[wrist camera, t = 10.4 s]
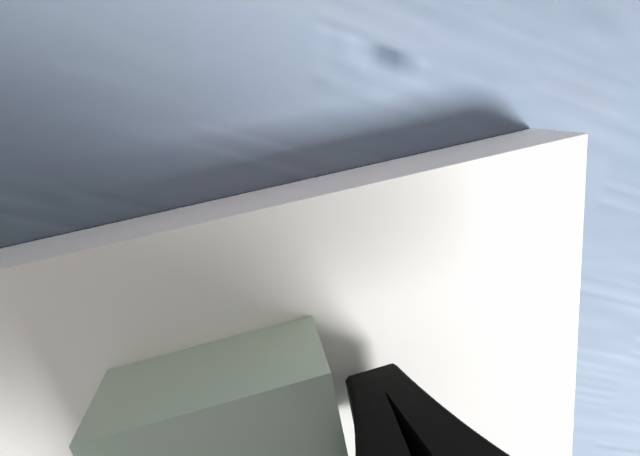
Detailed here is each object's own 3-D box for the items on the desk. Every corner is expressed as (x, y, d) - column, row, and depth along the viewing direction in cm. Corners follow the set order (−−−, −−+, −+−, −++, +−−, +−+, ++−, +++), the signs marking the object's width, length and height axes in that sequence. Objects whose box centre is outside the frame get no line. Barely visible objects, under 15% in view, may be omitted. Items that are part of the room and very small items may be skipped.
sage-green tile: (343, 459, 12) (365, 538, 9) (171, 513, 11) (155, 609, 9) (312, 315, 10) (331, 372, 8) (106, 369, 9) (68, 447, 7)
